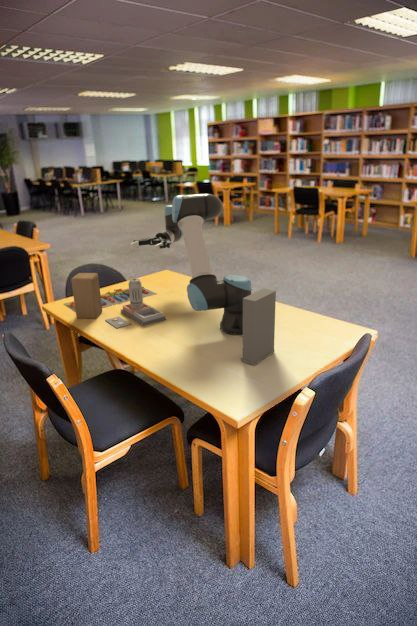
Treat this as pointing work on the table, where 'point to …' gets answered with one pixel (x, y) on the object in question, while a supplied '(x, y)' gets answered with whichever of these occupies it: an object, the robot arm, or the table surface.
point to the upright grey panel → (258, 326)
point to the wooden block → (87, 295)
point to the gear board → (115, 297)
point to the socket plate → (143, 314)
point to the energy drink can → (135, 294)
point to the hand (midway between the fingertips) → (143, 247)
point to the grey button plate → (117, 322)
